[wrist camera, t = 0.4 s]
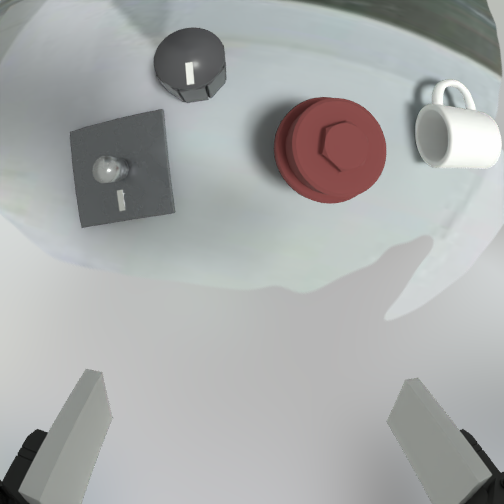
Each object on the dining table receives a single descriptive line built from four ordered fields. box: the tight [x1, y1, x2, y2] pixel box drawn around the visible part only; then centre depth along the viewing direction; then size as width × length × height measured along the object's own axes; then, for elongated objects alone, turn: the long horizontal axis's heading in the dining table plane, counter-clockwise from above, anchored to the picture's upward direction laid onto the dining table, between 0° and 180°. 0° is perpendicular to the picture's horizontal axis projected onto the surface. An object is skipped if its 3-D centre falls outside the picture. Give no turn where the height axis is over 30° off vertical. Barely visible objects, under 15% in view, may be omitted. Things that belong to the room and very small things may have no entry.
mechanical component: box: [274, 97, 386, 203], centre depth 28 cm, size 12×10×10 cm
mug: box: [415, 79, 502, 169], centre depth 30 cm, size 12×10×8 cm
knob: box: [154, 28, 226, 103], centre depth 28 cm, size 7×7×6 cm
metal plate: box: [70, 109, 175, 228], centre depth 30 cm, size 12×12×5 cm
